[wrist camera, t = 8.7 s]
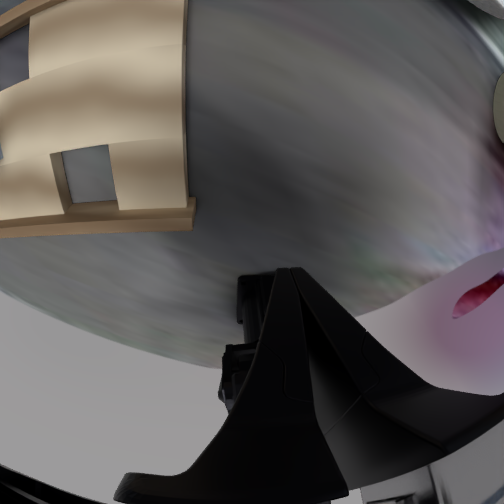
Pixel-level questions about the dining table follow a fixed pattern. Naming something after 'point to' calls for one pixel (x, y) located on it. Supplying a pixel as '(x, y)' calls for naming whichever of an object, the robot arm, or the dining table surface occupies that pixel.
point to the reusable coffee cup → (499, 107)
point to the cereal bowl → (491, 7)
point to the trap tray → (97, 116)
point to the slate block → (0, 154)
